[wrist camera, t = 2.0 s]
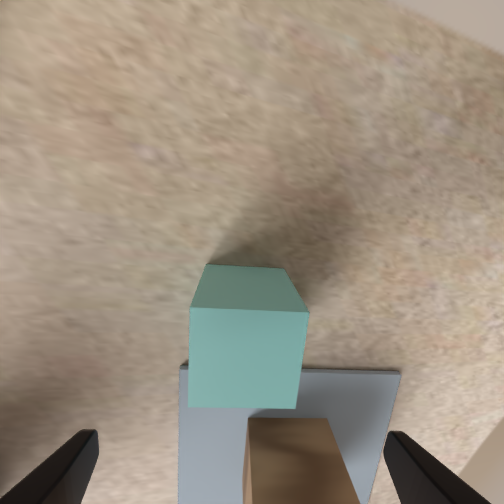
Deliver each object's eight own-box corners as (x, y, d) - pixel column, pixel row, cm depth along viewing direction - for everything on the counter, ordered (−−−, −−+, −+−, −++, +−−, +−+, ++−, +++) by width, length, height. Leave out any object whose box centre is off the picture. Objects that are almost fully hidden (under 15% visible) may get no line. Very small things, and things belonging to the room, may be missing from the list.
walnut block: (242, 478, 20) (244, 594, 15) (247, 417, 19) (253, 520, 13) (315, 477, 21) (346, 590, 15) (326, 418, 19) (365, 517, 14)
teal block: (203, 333, 18) (187, 407, 12) (206, 263, 16) (189, 307, 10) (276, 336, 18) (295, 408, 12) (284, 268, 17) (309, 312, 11)
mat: (178, 509, 21) (177, 515, 21) (180, 365, 18) (179, 369, 18) (363, 506, 23) (365, 511, 22) (398, 371, 19) (401, 374, 19)
